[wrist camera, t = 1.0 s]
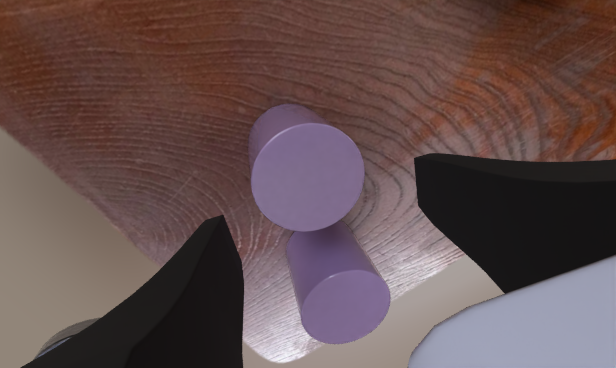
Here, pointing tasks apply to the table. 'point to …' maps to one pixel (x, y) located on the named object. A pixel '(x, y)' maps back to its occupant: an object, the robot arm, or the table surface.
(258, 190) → the lavender cylinder post
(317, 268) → the purple round peg
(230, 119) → the table surface
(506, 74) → the table surface
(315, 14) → the table surface
